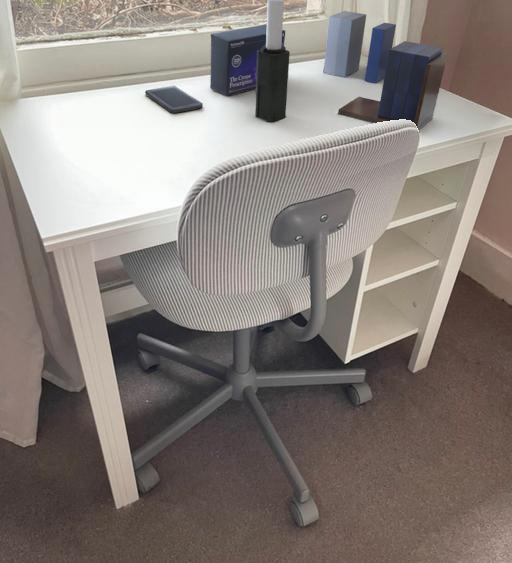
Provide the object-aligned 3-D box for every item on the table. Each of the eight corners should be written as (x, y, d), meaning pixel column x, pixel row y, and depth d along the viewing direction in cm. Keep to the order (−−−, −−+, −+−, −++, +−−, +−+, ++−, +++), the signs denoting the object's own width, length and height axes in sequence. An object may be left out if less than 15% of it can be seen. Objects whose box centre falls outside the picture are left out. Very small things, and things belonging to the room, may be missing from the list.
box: (228, 97, 118) (228, 39, 111) (209, 89, 122) (208, 33, 114) (283, 82, 127) (286, 28, 120) (263, 75, 131) (265, 22, 124)
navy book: (387, 76, 133) (396, 24, 126) (375, 83, 129) (384, 29, 121) (375, 74, 135) (384, 22, 127) (364, 81, 130) (372, 27, 123)
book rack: (432, 118, 112) (449, 47, 103) (415, 133, 105) (432, 58, 96) (358, 100, 119) (368, 33, 110) (337, 113, 112) (346, 42, 103)
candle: (252, 116, 110) (256, -23, 94) (269, 110, 113) (275, -26, 97) (271, 123, 107) (277, -19, 92) (287, 116, 110) (297, -22, 94)
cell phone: (174, 88, 121) (173, 85, 121) (204, 107, 112) (204, 104, 112) (144, 93, 118) (143, 90, 117) (172, 113, 109) (172, 110, 108)
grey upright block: (358, 69, 137) (366, 14, 129) (344, 77, 132) (352, 20, 124) (337, 65, 140) (344, 10, 132) (323, 72, 134) (329, 16, 126)
